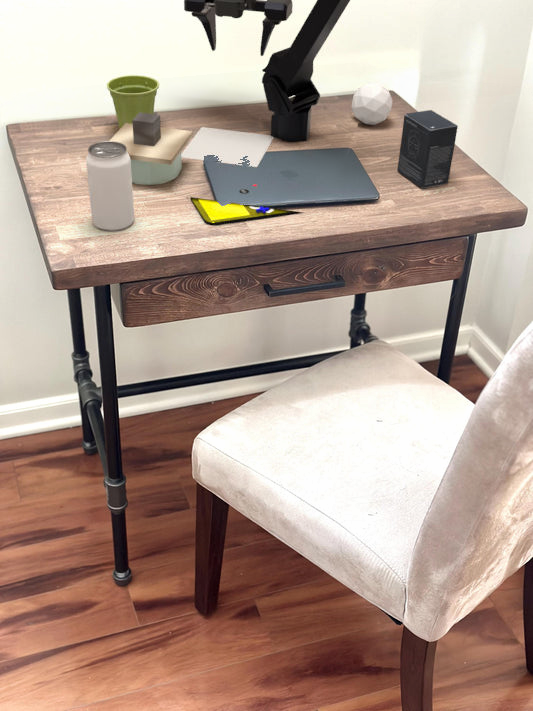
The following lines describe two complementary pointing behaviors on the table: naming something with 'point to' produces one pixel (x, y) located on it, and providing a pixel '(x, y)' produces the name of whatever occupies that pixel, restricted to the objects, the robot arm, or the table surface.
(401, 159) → the box
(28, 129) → the table surface
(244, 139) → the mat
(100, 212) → the can
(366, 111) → the geometric ball
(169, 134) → the lid
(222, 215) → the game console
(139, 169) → the bowl
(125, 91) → the plant pot
